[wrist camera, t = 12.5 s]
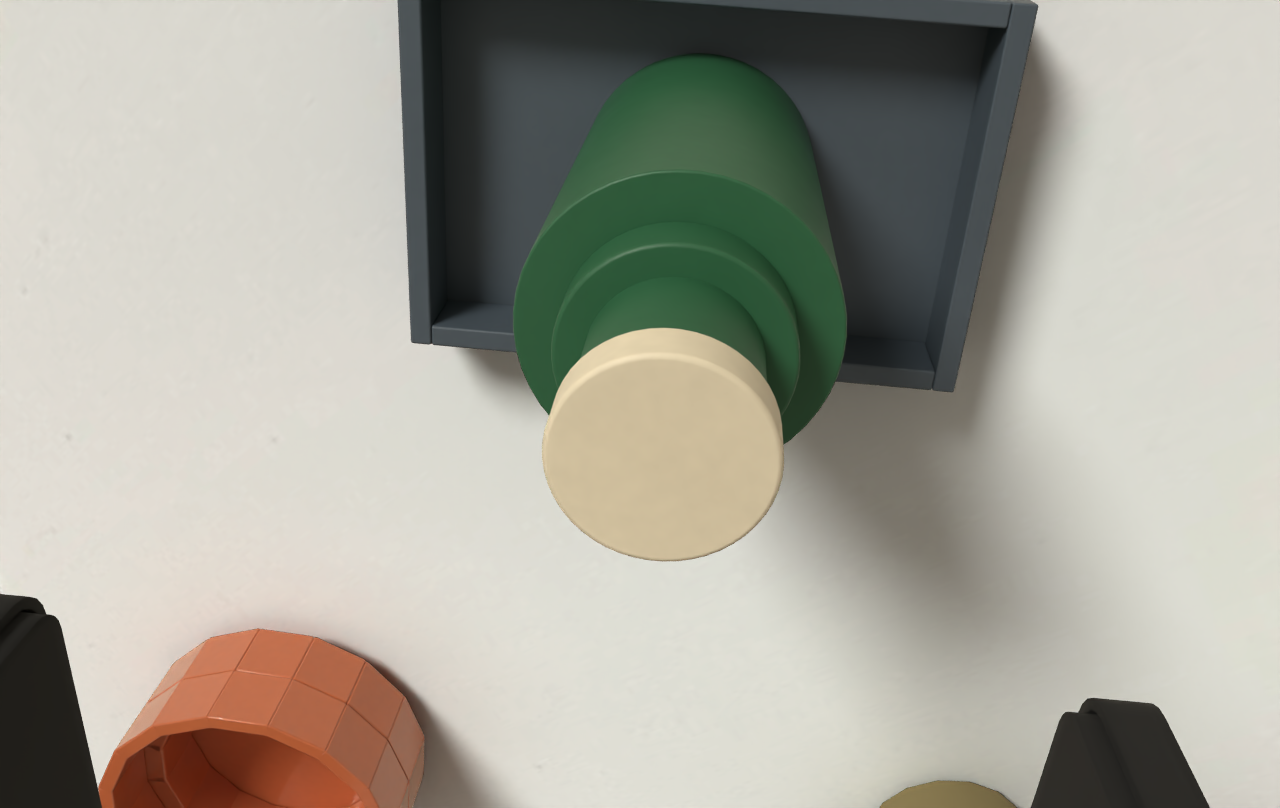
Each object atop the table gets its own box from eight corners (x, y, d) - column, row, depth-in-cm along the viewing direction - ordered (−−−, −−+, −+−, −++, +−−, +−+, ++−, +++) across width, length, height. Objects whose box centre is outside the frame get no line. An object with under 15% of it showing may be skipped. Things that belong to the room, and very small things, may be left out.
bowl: (114, 697, 42) (40, 800, 38) (291, 574, 38) (233, 671, 34) (303, 852, 45) (255, 963, 41) (482, 751, 42) (451, 861, 37)
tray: (432, 309, 33) (410, 343, 31) (421, -55, 29) (395, -45, 26) (939, 354, 33) (954, 393, 30) (1015, -10, 28) (1039, 4, 26)
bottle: (539, 148, 30) (369, 422, 16) (722, 2, 28) (703, 175, 14) (677, 316, 32) (629, 688, 18) (858, 191, 30) (956, 505, 16)
